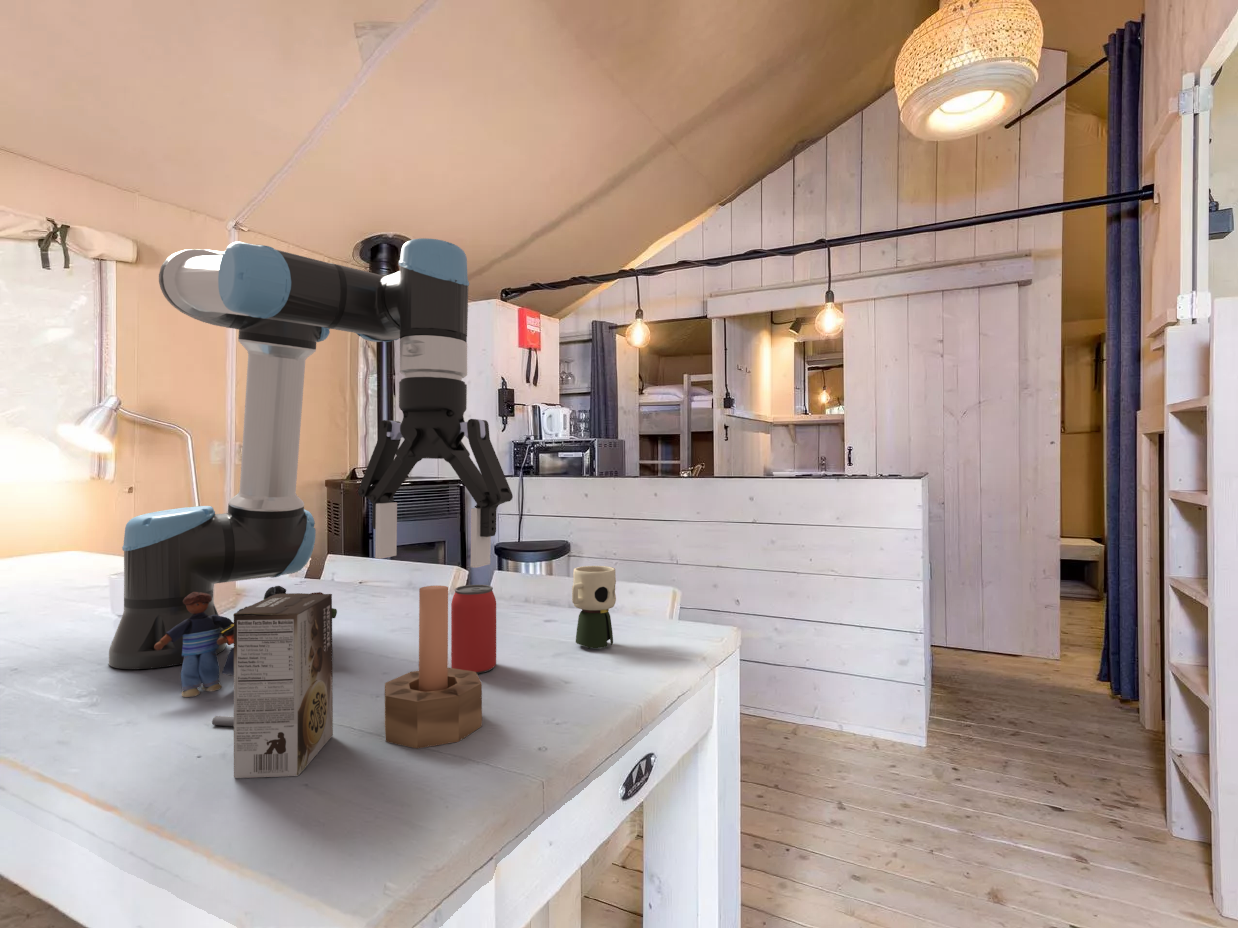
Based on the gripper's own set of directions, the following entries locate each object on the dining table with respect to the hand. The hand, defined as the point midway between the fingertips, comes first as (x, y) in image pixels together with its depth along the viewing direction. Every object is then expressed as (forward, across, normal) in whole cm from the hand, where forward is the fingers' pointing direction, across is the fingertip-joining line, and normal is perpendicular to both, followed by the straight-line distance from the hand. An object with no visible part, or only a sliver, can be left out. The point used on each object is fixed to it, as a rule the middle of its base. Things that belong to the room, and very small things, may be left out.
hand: (431, 561), depth 72 cm
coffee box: (+19, -9, -12) cm, 24 cm away
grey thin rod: (+19, -18, -8) cm, 28 cm away
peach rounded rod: (+19, +1, 0) cm, 19 cm away
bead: (+19, +1, 0) cm, 19 cm away
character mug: (+19, +5, +36) cm, 41 cm away
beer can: (+20, -7, +19) cm, 28 cm away
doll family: (+20, -34, +4) cm, 40 cm away
